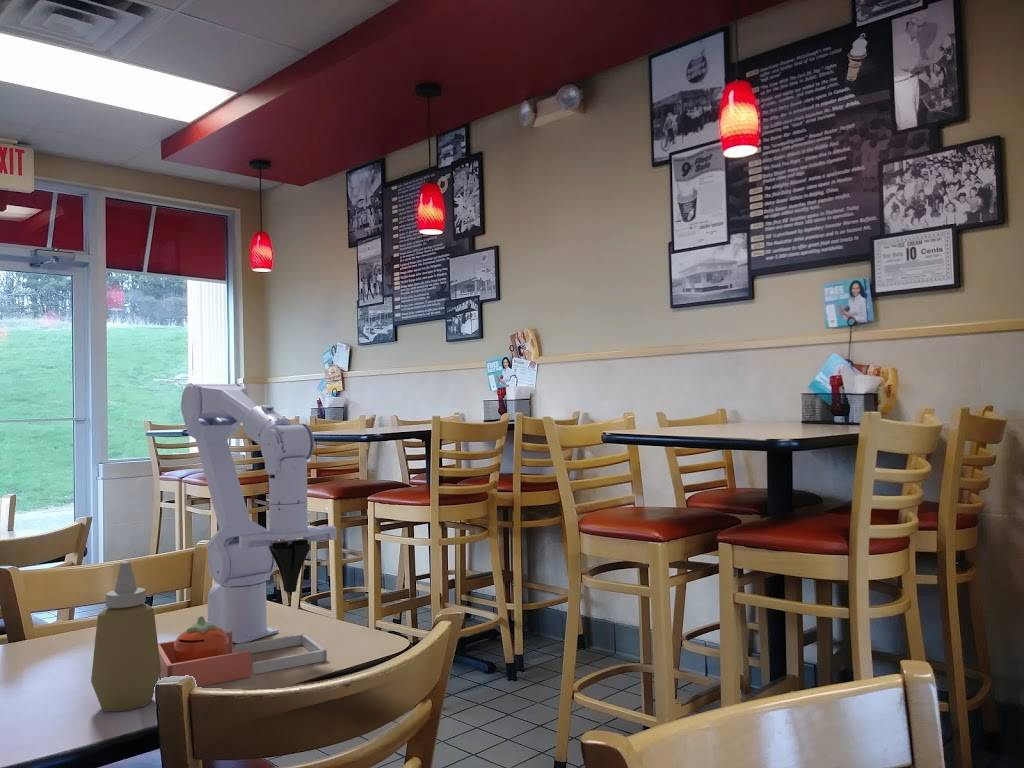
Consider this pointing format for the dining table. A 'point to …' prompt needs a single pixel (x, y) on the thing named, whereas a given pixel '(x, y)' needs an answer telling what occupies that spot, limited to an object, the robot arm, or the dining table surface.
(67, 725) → the dining table surface
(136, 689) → the squeeze bottle
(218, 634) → the tomato
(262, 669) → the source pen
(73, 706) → the dining table surface
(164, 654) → the bin
